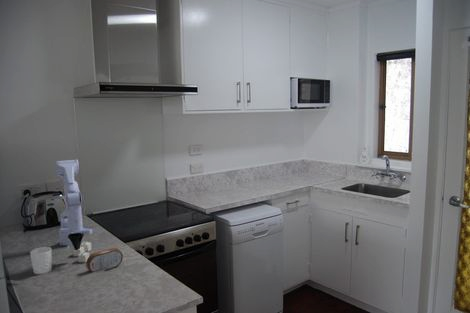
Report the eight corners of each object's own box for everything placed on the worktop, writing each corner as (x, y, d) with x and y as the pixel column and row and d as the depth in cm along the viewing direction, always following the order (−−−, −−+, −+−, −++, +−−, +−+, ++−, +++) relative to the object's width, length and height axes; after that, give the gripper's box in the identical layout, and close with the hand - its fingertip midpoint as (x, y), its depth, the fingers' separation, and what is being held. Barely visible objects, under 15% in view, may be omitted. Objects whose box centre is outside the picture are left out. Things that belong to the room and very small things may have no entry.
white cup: (57, 270, 153) (55, 247, 152) (42, 278, 146) (40, 255, 144) (43, 268, 156) (41, 246, 154) (27, 276, 148) (25, 252, 147)
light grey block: (81, 251, 171) (80, 243, 170) (84, 248, 174) (84, 241, 174) (88, 251, 170) (87, 243, 170) (91, 248, 174) (91, 241, 173)
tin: (121, 263, 159) (120, 245, 158) (124, 265, 157) (123, 247, 156) (86, 274, 149) (85, 254, 148) (89, 276, 147) (87, 256, 146)
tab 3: (78, 262, 158) (77, 253, 158) (82, 259, 161) (81, 251, 161) (85, 262, 158) (85, 254, 157) (89, 259, 161) (89, 251, 160)
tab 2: (73, 256, 165) (73, 248, 165) (77, 253, 168) (77, 245, 168) (80, 256, 165) (80, 248, 164) (84, 253, 168) (84, 245, 167)
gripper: (54, 221, 155) (56, 252, 157) (85, 222, 153) (87, 253, 154) (64, 217, 162) (66, 245, 163) (94, 217, 160) (96, 247, 161)
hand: (77, 249), depth 159 cm, fingers closed
